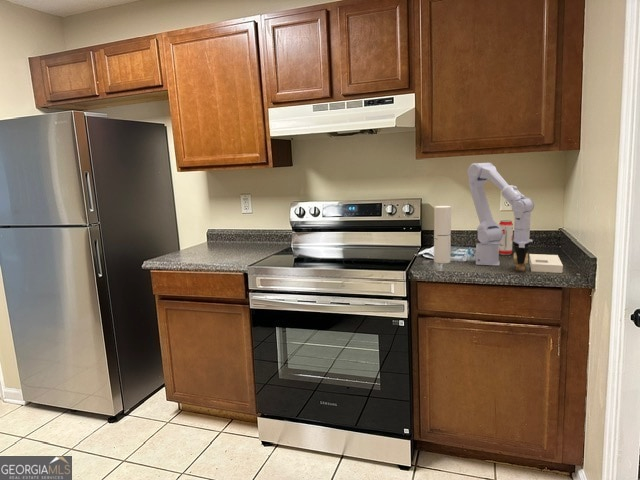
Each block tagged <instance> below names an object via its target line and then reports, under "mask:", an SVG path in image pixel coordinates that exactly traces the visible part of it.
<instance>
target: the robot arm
mask: <svg viewBox="0 0 640 480" xmlns="http://www.w3.org/2000/svg"><path fill="white" fill-rule="evenodd" d="M466 173H467V176H468V189H469V190H470V195H471V197H472V201H473V204H474V207H475V211H476V214H477V216H478V221H479V225H478V226H477V228H476V230H477V240H478V242H479V243H478V242H477V243H476V245H475V246H476V247H475V257H474V258H475V259H474V260H475V265H476V266H477V265H480V266H481V265H482V266H500V260H499V259H500V258H499V257H500V254H499V243H500V240H502V238H503V231H502V230H501V229H500V227H499V223H498V222H497V221H495V219H494V218H493V215H492V212H491V208H490V205H489V201H488V198H487V195H486V192H485V189H484V185H485V183H486V182H487V181H488V180H489V181H490V182H492V183H493V184H494V185H495V186H496V187H497V188H498V189H499V190H500V191H501V196H502V197H503V198H504V199H505V200H506V201H507V202H508V203H509V204H510V205H511V210H512V211H513V217H514V223H513V240H512V243H513V249H514V251H515V252H516V255H517V262H518V264H524V261H525V257H526V254H527V253H528V251H529V250H530V246H529V243H533V239H532V238H531V239H530V237H531V236H530V235H531V231H530V230H531V215H532V214H531V213H532V211H534V208H535V203H534V201H533V199H532V198H530V197H526V196H525V194H522V193H521V192H520V191H519V189H518V187H517V186H516V185H513V184H511V185H509V184H508V182H507V181H506V180H505V179H504V178H503V176H502V175H501V174H500V173H499V171H498V170H497V167H496V166H495V165H493V163H492V162H473V163H471V164H470V165H469V166H468V169H467V171H466Z"/></svg>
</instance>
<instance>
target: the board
mask: <svg viewBox="0 0 640 480" xmlns="http://www.w3.org/2000/svg"><path fill="white" fill-rule="evenodd" d="M528 263H529V266H530V271H531V272H537V273H538V272H539V273H553V274H555V273H556V274H558V273H559V274H563V268H564V265H563V263H562V261H561V259H560V257H559V255H558V254H540V253H539V254H536V253H535V254H534V253H528Z"/></svg>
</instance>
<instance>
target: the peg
mask: <svg viewBox="0 0 640 480" xmlns="http://www.w3.org/2000/svg"><path fill="white" fill-rule="evenodd" d="M512 263H513V264H515V270H516V271H518V272H525V270H526V265H528V263H529V253H528V252H527V254H526V257H525V261H524V264H518V262H517V255H516V251H515V252H513V262H512Z"/></svg>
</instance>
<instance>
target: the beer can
mask: <svg viewBox="0 0 640 480" xmlns="http://www.w3.org/2000/svg"><path fill="white" fill-rule="evenodd" d="M498 225H499V227H500V229H501V230H502V231H503V238H502V240H500V243H499V256H500V255H501V256H510V255H512V253H513V239H514V223H513V220H510V219H509V220H508V219H505V220H500V221H499V223H498Z"/></svg>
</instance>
